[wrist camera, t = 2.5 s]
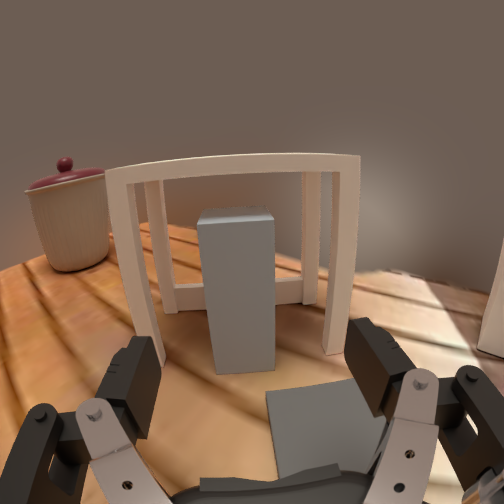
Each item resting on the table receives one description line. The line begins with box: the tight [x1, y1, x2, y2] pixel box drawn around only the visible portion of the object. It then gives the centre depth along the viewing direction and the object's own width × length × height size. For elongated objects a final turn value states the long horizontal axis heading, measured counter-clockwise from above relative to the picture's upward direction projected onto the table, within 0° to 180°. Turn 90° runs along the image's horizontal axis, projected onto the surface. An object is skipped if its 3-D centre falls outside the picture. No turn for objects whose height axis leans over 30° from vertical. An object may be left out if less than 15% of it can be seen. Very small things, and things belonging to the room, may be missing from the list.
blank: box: [197, 206, 275, 374], centre depth 23 cm, size 5×5×13 cm
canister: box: [25, 157, 109, 272], centre depth 46 cm, size 18×18×21 cm
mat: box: [266, 378, 386, 479], centre depth 16 cm, size 9×9×1 cm
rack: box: [105, 153, 360, 367], centre depth 26 cm, size 11×18×17 cm, turn 94°
